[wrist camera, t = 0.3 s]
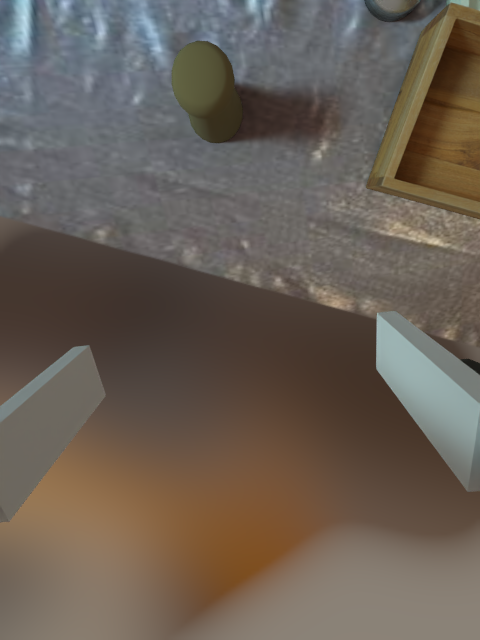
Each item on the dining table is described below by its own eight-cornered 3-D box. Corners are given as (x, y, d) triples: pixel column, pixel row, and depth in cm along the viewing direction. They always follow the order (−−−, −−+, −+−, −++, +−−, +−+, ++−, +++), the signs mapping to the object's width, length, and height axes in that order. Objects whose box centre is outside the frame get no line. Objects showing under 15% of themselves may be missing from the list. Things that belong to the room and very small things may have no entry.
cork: (240, 76, 34) (235, 20, 23) (244, 140, 36) (241, 115, 25) (184, 82, 34) (155, 30, 24) (192, 145, 36) (168, 122, 26)
